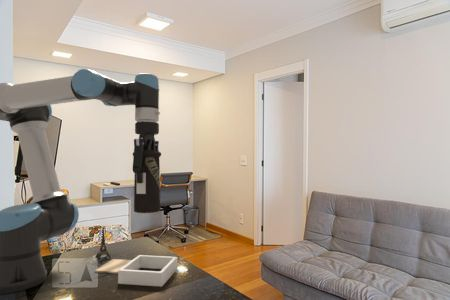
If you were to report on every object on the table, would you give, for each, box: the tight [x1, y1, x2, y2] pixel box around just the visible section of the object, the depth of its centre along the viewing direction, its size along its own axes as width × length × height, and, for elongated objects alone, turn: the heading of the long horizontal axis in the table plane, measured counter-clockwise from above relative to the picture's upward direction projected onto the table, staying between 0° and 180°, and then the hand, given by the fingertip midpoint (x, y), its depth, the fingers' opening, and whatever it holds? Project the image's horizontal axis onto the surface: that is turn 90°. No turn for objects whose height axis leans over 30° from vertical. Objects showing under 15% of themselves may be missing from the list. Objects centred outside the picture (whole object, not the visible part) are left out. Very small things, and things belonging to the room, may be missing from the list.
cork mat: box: [94, 258, 133, 275], centre depth 103 cm, size 11×11×1 cm
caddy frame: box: [117, 254, 178, 287], centre depth 95 cm, size 14×14×4 cm
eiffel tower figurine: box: [83, 226, 113, 266], centre depth 113 cm, size 15×10×13 cm
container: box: [132, 150, 162, 214], centre depth 96 cm, size 9×9×20 cm
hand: (147, 191), depth 96 cm, fingers closed on container, 8 cm apart
